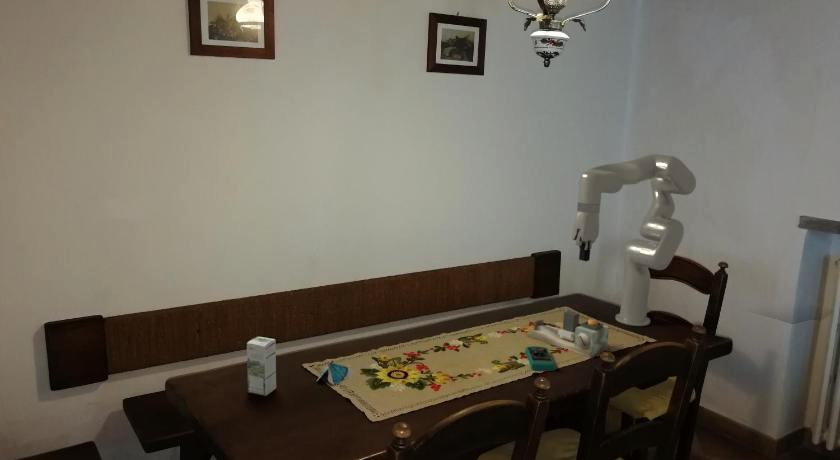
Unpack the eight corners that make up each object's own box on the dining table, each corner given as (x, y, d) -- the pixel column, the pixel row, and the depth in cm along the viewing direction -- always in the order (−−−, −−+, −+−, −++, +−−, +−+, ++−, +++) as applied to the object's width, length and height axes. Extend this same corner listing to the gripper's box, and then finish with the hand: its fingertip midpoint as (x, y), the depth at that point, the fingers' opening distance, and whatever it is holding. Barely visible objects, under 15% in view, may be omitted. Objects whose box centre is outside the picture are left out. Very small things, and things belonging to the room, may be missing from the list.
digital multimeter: (546, 354, 214) (547, 345, 213) (555, 372, 199) (556, 363, 199) (524, 353, 214) (525, 345, 213) (531, 371, 199) (532, 362, 199)
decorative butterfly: (306, 370, 184) (322, 350, 192) (309, 389, 186) (324, 368, 195) (339, 376, 181) (353, 355, 189) (341, 395, 183) (355, 373, 192)
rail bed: (546, 328, 237) (548, 304, 235) (608, 348, 219) (611, 322, 218) (526, 336, 229) (528, 310, 227) (589, 357, 211) (591, 330, 209)
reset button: (590, 324, 218) (591, 318, 218) (599, 326, 216) (599, 320, 216) (585, 326, 216) (586, 320, 216) (594, 328, 214) (594, 322, 213)
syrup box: (276, 388, 180) (276, 338, 177) (265, 397, 175) (264, 345, 172) (259, 384, 182) (258, 335, 179) (246, 393, 176) (246, 342, 174)
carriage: (569, 333, 227) (571, 309, 225) (581, 337, 224) (583, 313, 222) (557, 337, 222) (559, 313, 221) (570, 341, 219) (572, 317, 217)
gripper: (590, 204, 231) (586, 255, 235) (566, 208, 221) (562, 261, 225) (609, 207, 226) (605, 259, 230) (586, 211, 216) (581, 265, 219)
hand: (584, 260), depth 227 cm, fingers closed
